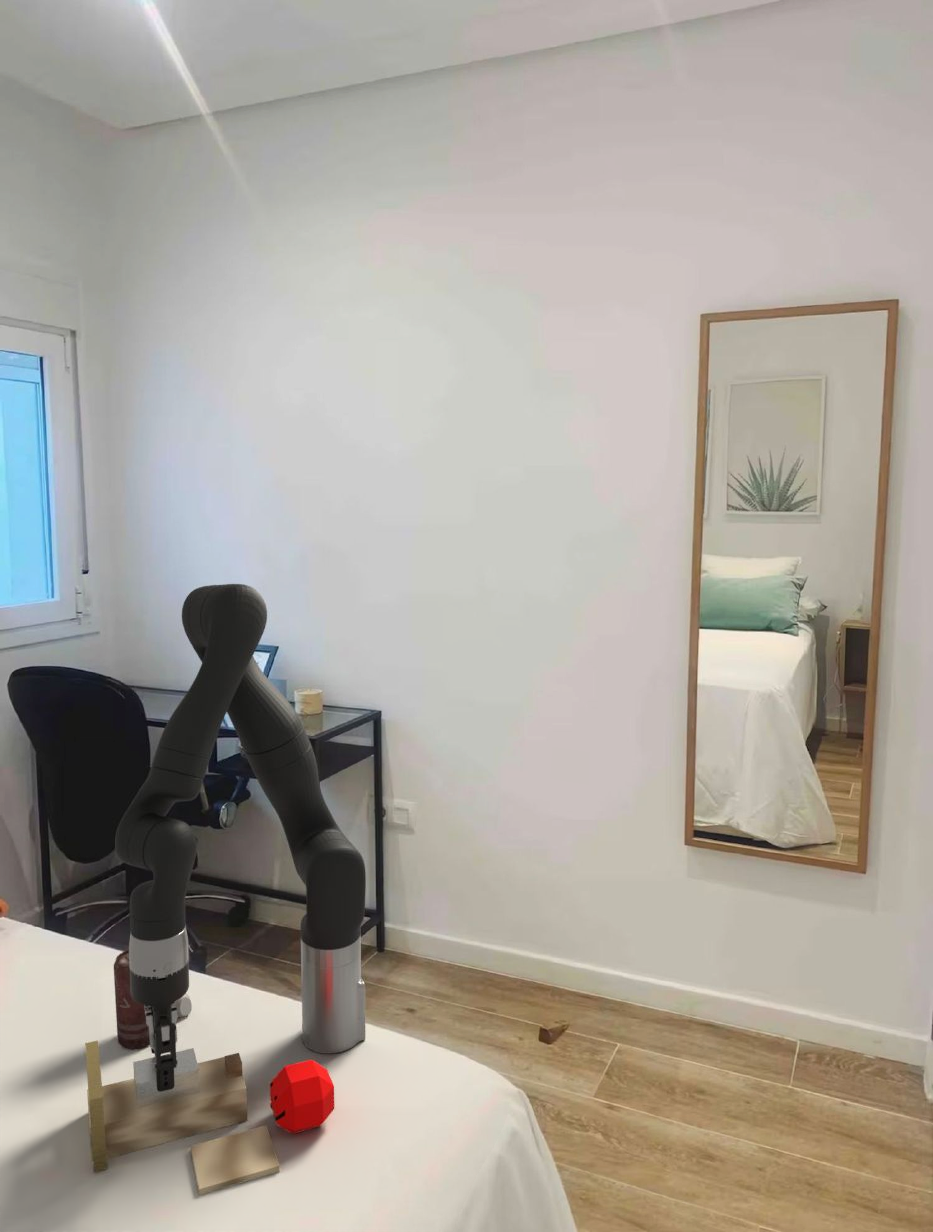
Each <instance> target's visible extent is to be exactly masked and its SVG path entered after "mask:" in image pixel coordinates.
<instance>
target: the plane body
mask: <svg viewBox="0 0 933 1232" xmlns="http://www.w3.org/2000/svg"><path fill="white" fill-rule="evenodd" d="M197 1064H198V1068H199V1086H200V1093H196V1094H192V1095H188V1096H184V1097H180V1098H176V1099H172V1100H168V1101H164V1102H160V1103H156V1104H152V1105H148V1106H144V1107H140V1108H138V1106H137V1099H136V1092H135V1085H134V1078H130V1079H126V1080H122V1081H118V1082H114V1083H109V1084H106V1085H102V1092H103V1107H104V1124H105V1141H106V1158H107V1159H109V1158H112V1157H116V1156H120V1155H123V1154H128V1153H131V1152H134V1151H138V1150H143V1149H146V1148H150V1147H153V1146H154V1147H155V1146H157V1145H160V1144H161V1145H162V1144H165V1143H169V1142H172V1141H175V1140H179V1139H180V1140H181V1139H184V1138H187V1137H191V1136H196V1135H198V1134H202V1133H206V1132H209V1131H212V1130H217V1129H220V1128H225V1127H228V1126H232V1125H235V1124H239V1123H242V1122H246V1121H248V1099H247V1098H248V1096H247V1086H246V1083H245V1079H244V1076H243V1061H242V1058H241V1056H240V1053H239V1052H235V1053H231V1054H227V1055H225V1056H221V1057H218V1058H214V1059H209V1060H206V1061H205V1060H204V1061H201V1062H197ZM86 1091H87V1092H86V1093H87V1107H88V1108H87V1109H88V1110H87V1111H88V1124H89V1126H88V1127H89V1139H90V1141H89V1142H90V1143H89V1144H90V1153H91V1154H90V1155H91V1156H90V1157H91V1163H93V1153H92V1137H91V1121H90V1105H89V1090H88V1089H87V1090H86Z"/></svg>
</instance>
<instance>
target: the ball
mask: <svg viewBox="0 0 933 1232" xmlns="http://www.w3.org/2000/svg"><path fill="white" fill-rule="evenodd" d="M334 1085H335V1084H334V1082H333V1080H332V1078H331V1075H330V1073H329V1071H328V1069H327V1068H325V1067H324V1066H322V1065H321V1064H319V1063H318V1062H316V1061H315V1060H314V1059H308V1060H304V1061H300V1062H296V1063H292V1064H288V1065H284V1066H283V1067H282V1068H281V1069H280V1071H279V1072H278V1073H277V1075H275V1077H274V1078H273V1079H272V1080H271V1082H270V1083H269V1099H270V1104H269V1105H270V1109H271V1111H272V1114H273V1116H274V1119H275V1124H276V1125H277V1126H279V1127H280V1128H282V1129H283V1130H285V1131H286V1132H287V1133H290V1134H292V1135H293V1134H296V1133H300V1132H304V1131H308V1130H312V1129H315V1128H318V1127H321V1126H322V1125H323V1124H324V1122H325V1121H326V1120H327V1119H328V1117H329V1116H330V1115H331V1114H332V1112H333V1111H334V1110H335V1086H334Z"/></svg>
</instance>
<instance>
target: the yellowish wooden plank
mask: <svg viewBox="0 0 933 1232" xmlns="http://www.w3.org/2000/svg"><path fill="white" fill-rule="evenodd" d="M84 1046H85V1057H86V1060H85V1061H86V1072H87V1073H86V1074H87V1077H86V1078H87V1090H89V1105H90V1121H91V1137H92V1153H93V1162H92V1165H93V1166H92V1167H93V1173H95V1172H99V1171H103V1170H106V1169H108V1162H107V1161H108V1158H106V1141H105V1124H104V1107H103V1092H102V1086H103V1083H102V1072H101V1061H100V1049H99V1041H98V1040H94V1041H89V1042H85V1045H84Z"/></svg>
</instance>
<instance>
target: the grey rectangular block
mask: <svg viewBox="0 0 933 1232" xmlns="http://www.w3.org/2000/svg"><path fill="white" fill-rule="evenodd" d="M166 1055H170V1053H165V1054H161V1056H166ZM161 1056H160V1057H161ZM176 1060H177V1064H176V1068H174V1088H173V1089H170V1090H166V1091H162V1092H159V1091H157V1085H156V1069H155V1065H154V1061H155V1056H154V1057H150V1058H145V1059H141V1060H137V1061H133V1079H134V1085H135V1092H136V1099H137V1106H138V1108H140V1107H144V1106H148V1105H152V1104H156V1103H160V1102H164V1101H168V1100H172V1099H176V1098H180V1097H184V1096H188V1095H192V1094H196V1093H200V1086H199V1068H198V1064H197V1063H198V1060H197V1056H196V1053H195V1049H194V1047H193V1048H188V1049H183V1050H179V1051H176Z"/></svg>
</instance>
